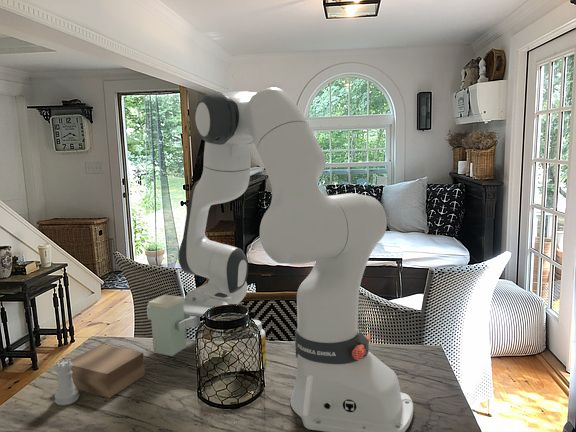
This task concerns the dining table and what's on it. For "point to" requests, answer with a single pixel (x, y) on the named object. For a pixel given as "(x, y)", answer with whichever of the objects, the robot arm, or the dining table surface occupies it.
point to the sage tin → (167, 324)
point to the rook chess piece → (65, 384)
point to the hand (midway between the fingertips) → (165, 325)
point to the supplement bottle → (262, 340)
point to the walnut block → (107, 369)
